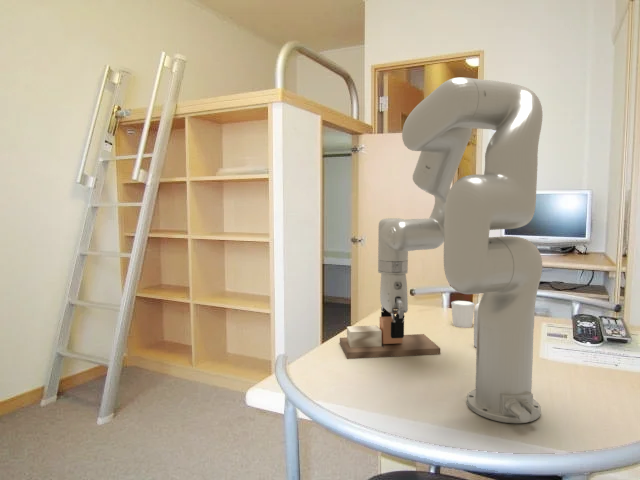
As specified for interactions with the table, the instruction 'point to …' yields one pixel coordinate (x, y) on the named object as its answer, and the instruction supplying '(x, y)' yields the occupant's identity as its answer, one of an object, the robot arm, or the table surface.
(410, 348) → the ticket board
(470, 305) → the white cup
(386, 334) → the stub
